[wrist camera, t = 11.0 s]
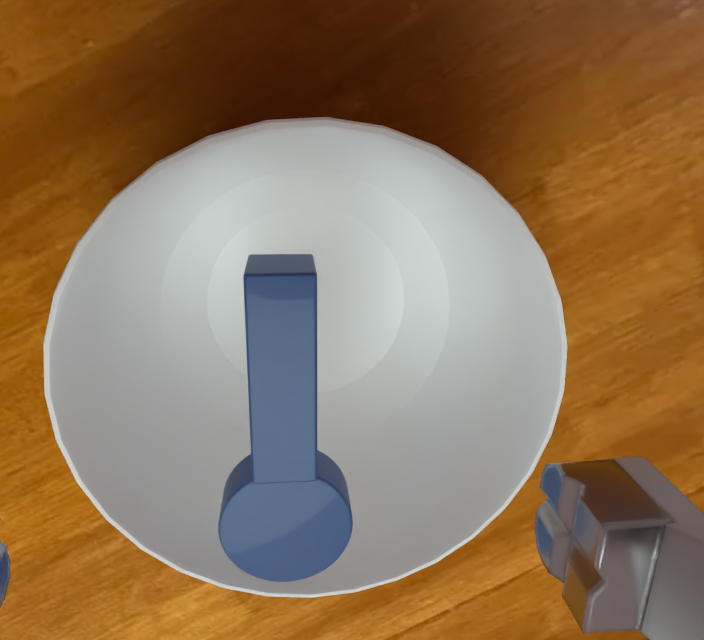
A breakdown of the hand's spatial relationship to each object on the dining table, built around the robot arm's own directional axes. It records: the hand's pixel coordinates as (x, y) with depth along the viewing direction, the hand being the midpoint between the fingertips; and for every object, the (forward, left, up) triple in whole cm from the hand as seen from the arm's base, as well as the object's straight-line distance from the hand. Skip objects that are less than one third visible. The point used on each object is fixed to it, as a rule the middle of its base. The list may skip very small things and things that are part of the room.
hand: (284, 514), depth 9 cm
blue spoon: (+3, 0, -9) cm, 9 cm away
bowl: (+2, +1, -19) cm, 19 cm away
